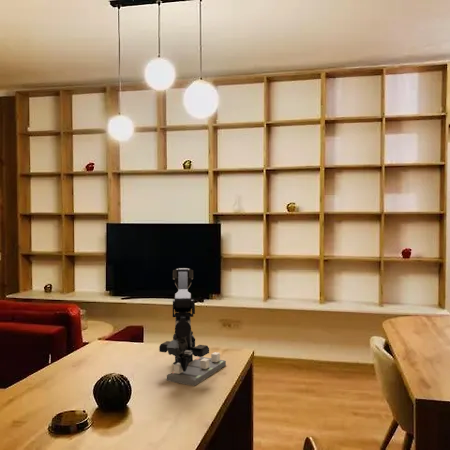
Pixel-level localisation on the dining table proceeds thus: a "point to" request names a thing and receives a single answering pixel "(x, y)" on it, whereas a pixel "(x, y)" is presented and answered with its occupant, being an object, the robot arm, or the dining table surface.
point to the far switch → (215, 357)
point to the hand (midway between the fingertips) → (184, 371)
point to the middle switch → (204, 363)
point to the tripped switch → (178, 368)
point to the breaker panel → (196, 372)
